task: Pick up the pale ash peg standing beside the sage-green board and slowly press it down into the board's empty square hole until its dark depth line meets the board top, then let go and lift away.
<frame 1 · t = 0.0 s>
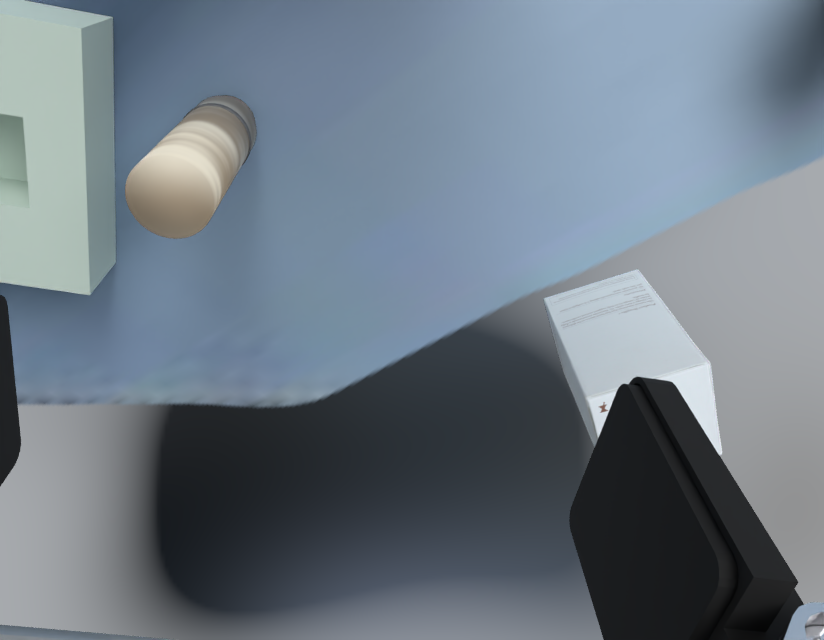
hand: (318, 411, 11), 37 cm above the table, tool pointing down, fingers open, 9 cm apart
supplement box: (599, 321, 53), on the table
ash peg: (228, 123, 45), on the table
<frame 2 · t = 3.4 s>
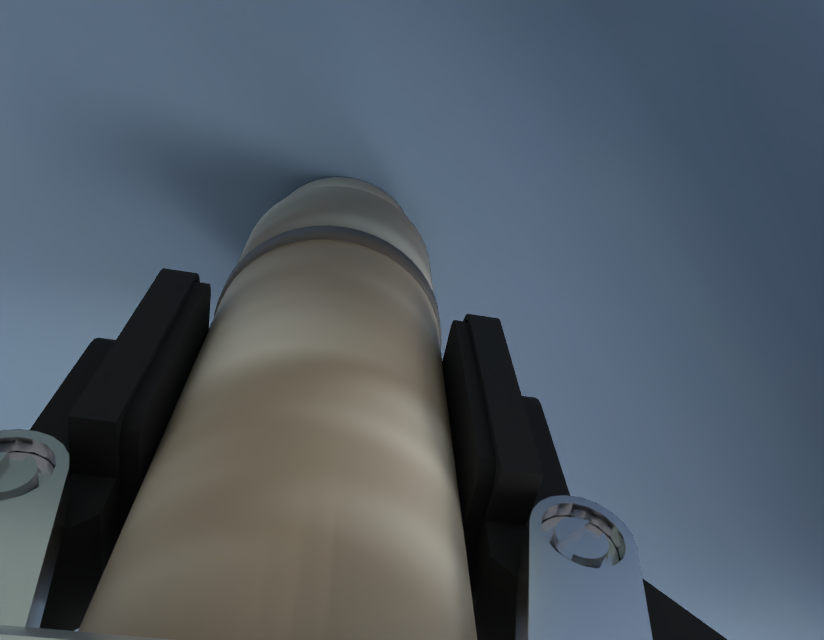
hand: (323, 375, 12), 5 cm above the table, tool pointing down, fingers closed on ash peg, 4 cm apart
ash peg: (341, 247, 17), on the table, touching gripper
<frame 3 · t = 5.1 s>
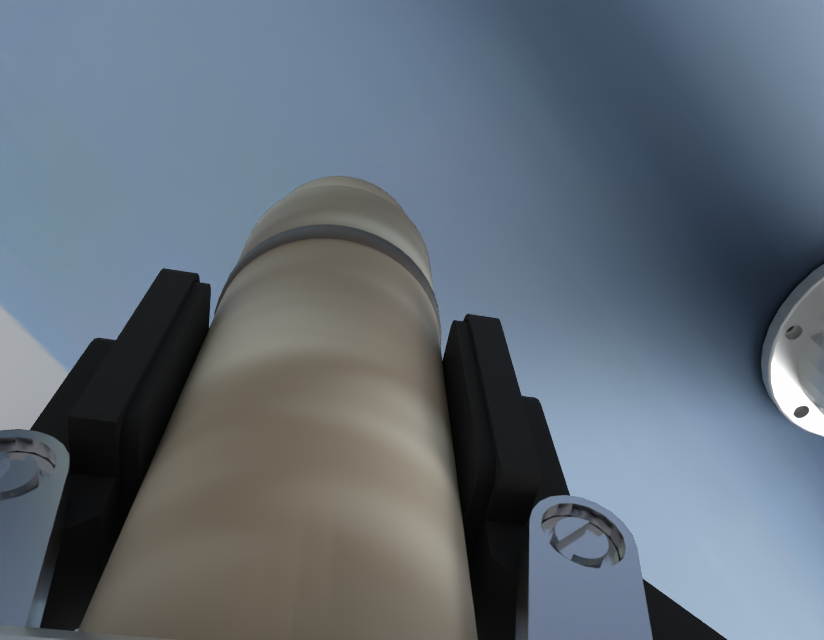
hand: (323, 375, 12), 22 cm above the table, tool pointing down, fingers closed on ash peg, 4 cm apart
ash peg: (341, 247, 17), point 17 cm above the table, touching gripper
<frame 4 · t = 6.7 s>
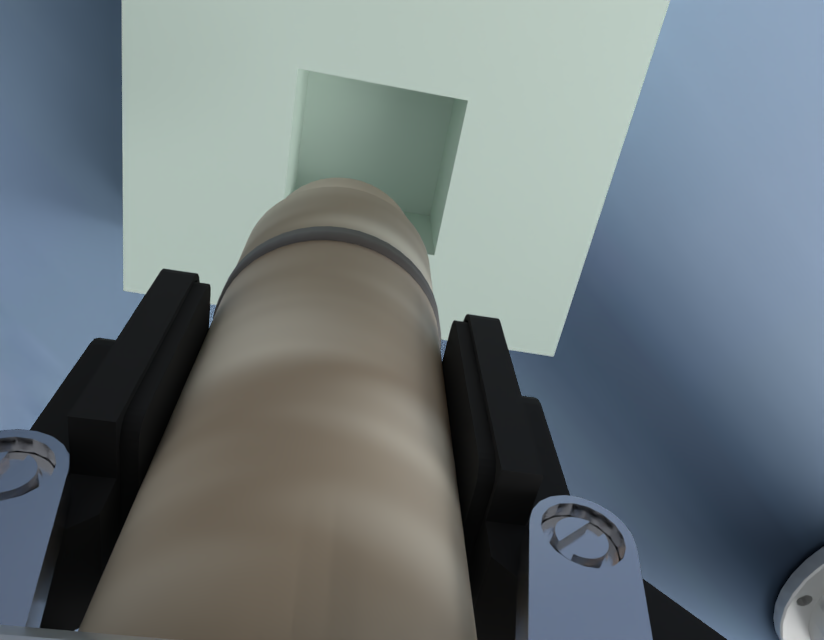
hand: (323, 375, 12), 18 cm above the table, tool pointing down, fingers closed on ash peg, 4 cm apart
ash peg: (340, 248, 17), point 13 cm above the table, touching gripper
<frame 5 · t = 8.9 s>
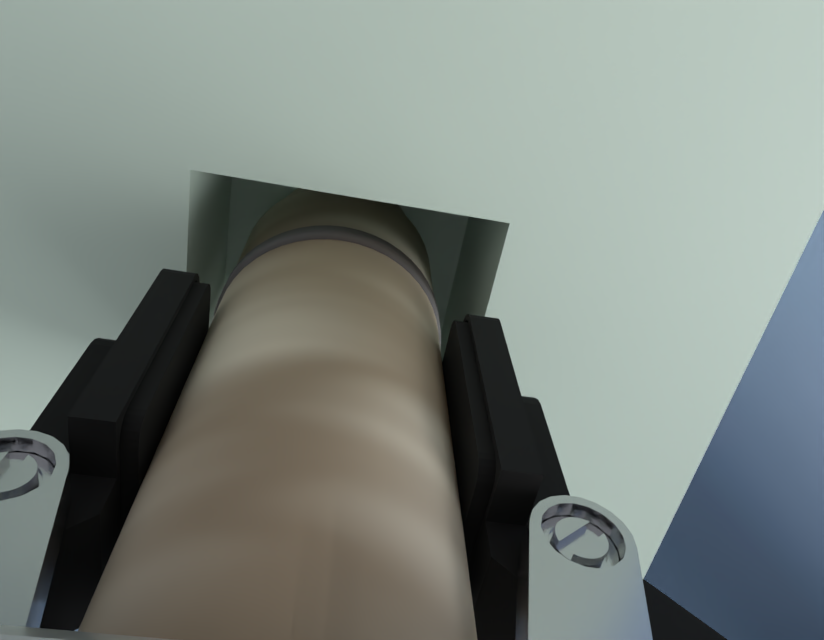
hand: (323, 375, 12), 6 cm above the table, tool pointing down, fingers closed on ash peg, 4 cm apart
ash peg: (340, 247, 17), point 1 cm above the table, touching gripper
when the fingers open (6 cm above the table, at t = 10.2 s): ash peg stays where it is, resting on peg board.
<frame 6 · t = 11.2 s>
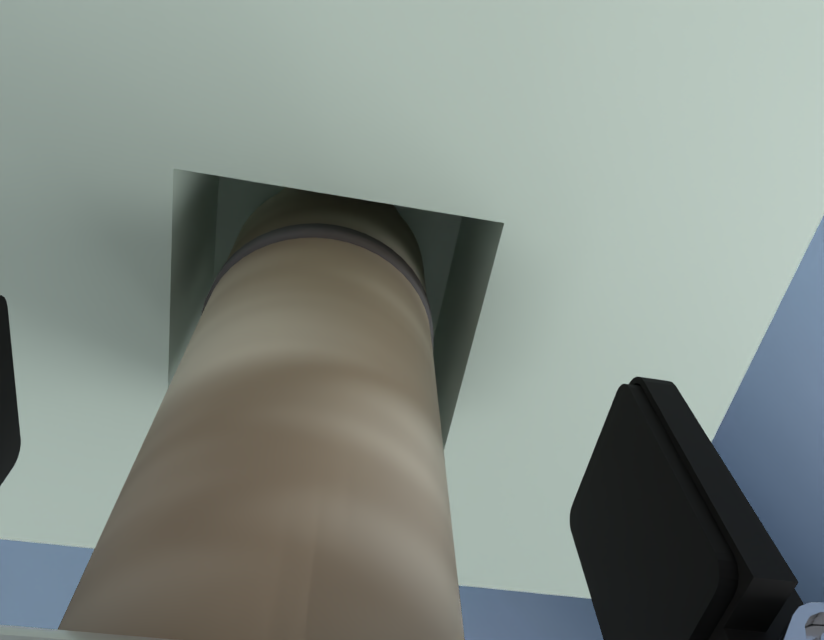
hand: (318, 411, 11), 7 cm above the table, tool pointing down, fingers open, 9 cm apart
ash peg: (333, 245, 16), point 1 cm above the table, touching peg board
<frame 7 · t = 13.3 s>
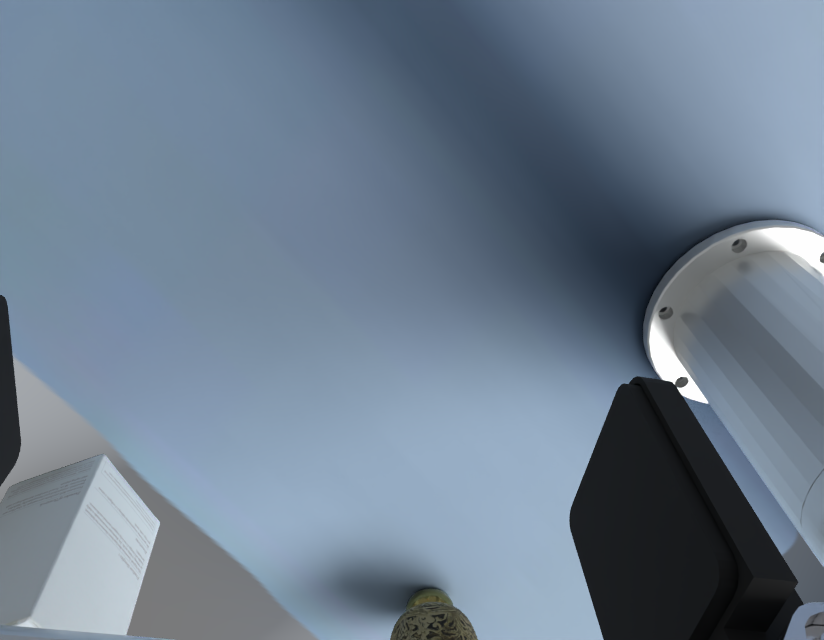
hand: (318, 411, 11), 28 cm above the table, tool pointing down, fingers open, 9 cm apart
cup: (428, 597, 56), on the table
supplement box: (89, 502, 49), on the table
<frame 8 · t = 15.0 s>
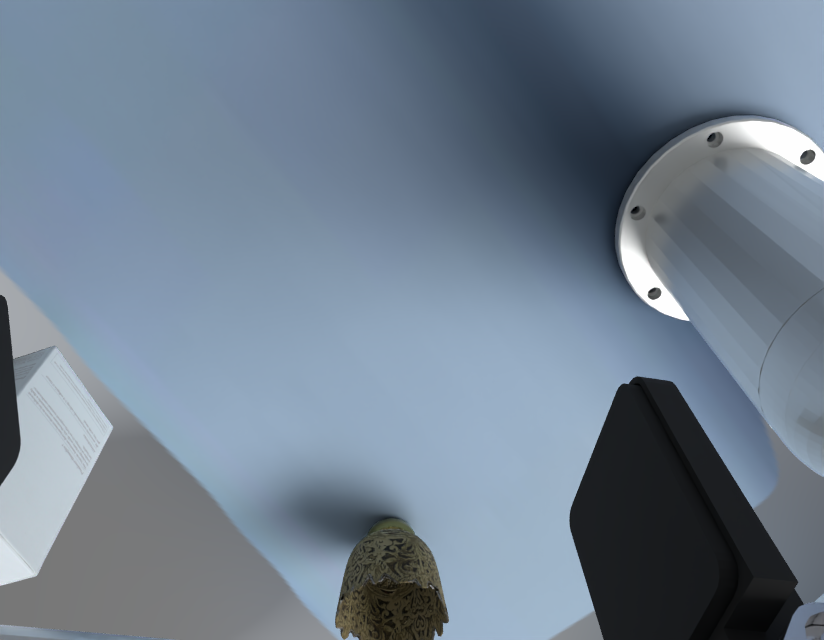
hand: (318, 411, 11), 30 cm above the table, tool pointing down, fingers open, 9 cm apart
cup: (390, 529, 54), on the table
supplement box: (40, 401, 47), on the table
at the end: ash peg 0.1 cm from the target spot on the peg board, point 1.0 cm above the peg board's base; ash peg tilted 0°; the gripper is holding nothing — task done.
